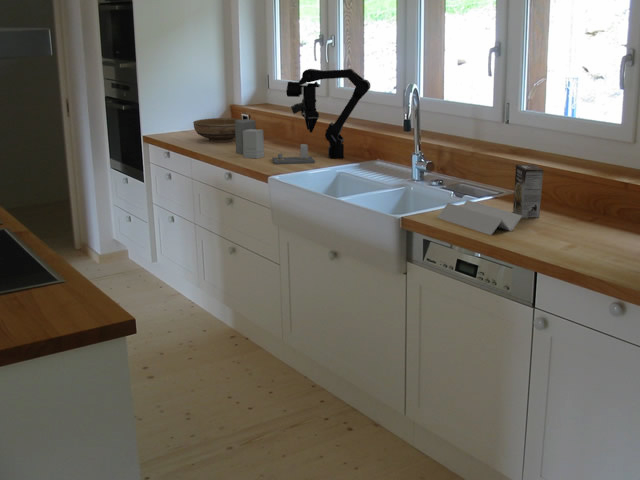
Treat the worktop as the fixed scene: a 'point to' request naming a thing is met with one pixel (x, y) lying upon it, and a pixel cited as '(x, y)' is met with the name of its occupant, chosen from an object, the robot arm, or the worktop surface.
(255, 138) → the supplement box
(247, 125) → the skincare box
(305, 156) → the block
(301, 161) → the plate
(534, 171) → the coffee box
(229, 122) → the wooden bowl
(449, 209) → the z bracket
